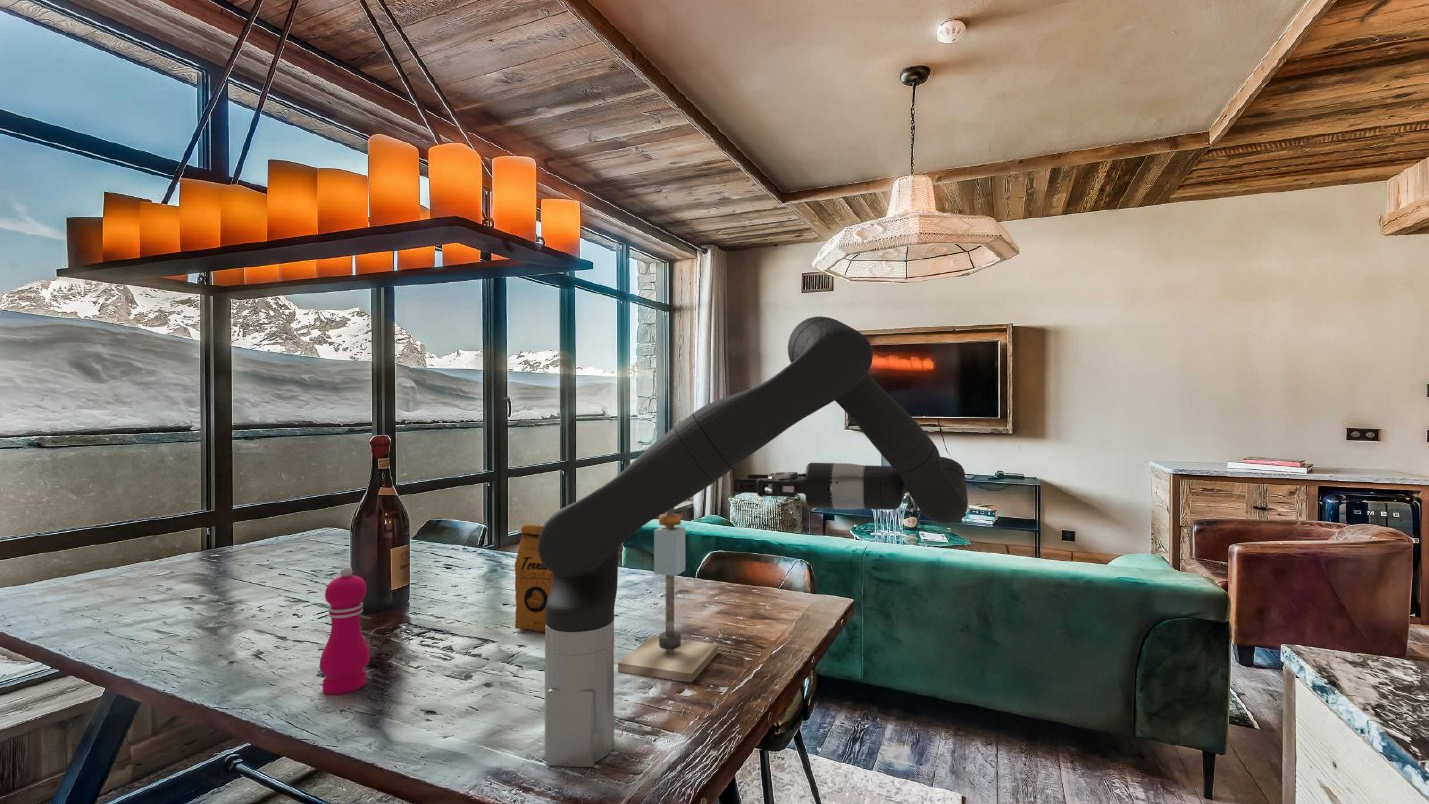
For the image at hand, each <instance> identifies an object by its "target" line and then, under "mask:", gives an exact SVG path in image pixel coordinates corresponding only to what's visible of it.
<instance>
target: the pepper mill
mask: <svg viewBox="0 0 1429 804" xmlns="http://www.w3.org/2000/svg"><path fill="white" fill-rule="evenodd" d="M339 573H340V576H337V578H334V579H333V580H332V581H330V582H329V583H328V584H327V586H326V588H325V592H324V593H325V594H324V599H325V601H326V603H327V604H329V605H330V606H328V615H327V616H328V618H330V619H331V620H330V621H331V630H330V633H329V636H328V637H329V638H328V640H327V642H326V644H325V647H324V648H323V650H322V653H321V656H320V659H319V670H320V672H321V673H323V675H325V677H323V680H322V692H323V693H324V694H327V695H344V694H348V693H349V694H350V693H351V692H354V691H355V692H356V691H357V690H359V689H361V688H363V687H364V686H365V685H366V684H367V671H366V670H365V668H366V667H367V665H368V664H369V662H370V660H371V656H370V649H369V645H368V643H367V641H366V639H365V637H364V635H363V633H362V630H361V625H360V623H361V622H360V619H361V618H360V617H361V614H362V613H363V611H364V609H363V606H364V602H362V601H363V600H364V598H365V596H366V595H367V584H366V582H365V580H364V579H363V578H362V577H360V576H358V575H353V568H352V567H351V566H344V567H343V568H341V570H340V571H339Z"/></svg>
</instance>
